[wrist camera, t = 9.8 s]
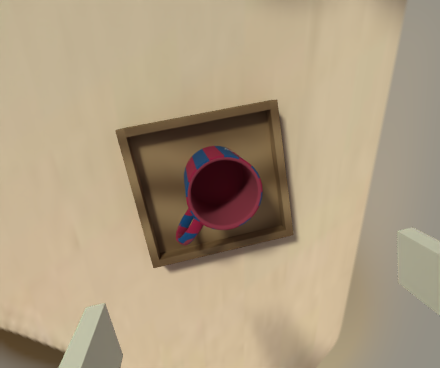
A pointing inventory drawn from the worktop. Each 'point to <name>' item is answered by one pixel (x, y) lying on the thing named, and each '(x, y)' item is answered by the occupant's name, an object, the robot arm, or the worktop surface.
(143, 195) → the tray
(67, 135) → the worktop surface
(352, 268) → the worktop surface
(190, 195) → the mug
